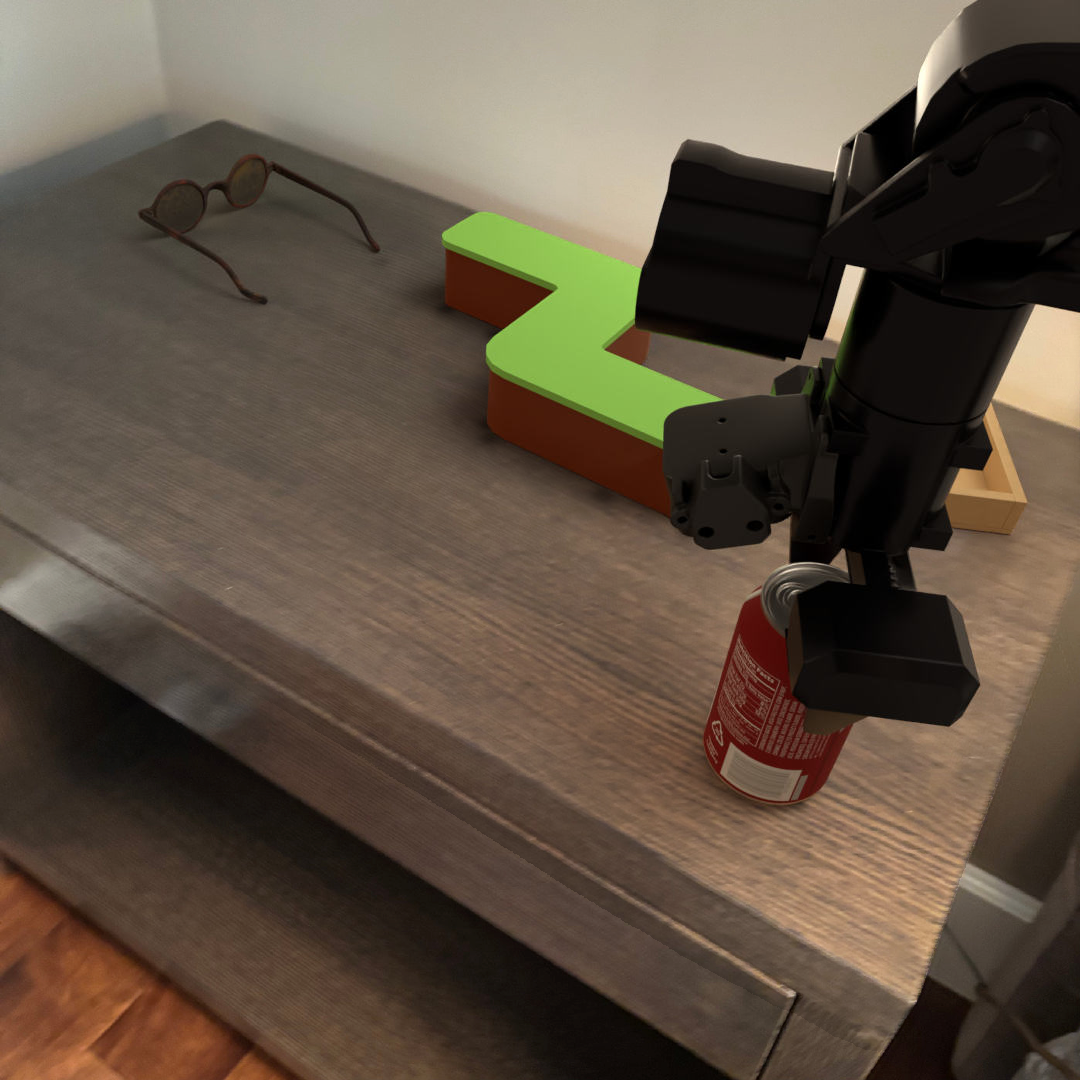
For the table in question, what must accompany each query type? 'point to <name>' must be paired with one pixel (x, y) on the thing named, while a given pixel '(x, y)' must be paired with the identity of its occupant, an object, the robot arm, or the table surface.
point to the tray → (988, 489)
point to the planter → (566, 353)
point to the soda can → (768, 700)
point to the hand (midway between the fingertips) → (806, 652)
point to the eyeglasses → (242, 187)
